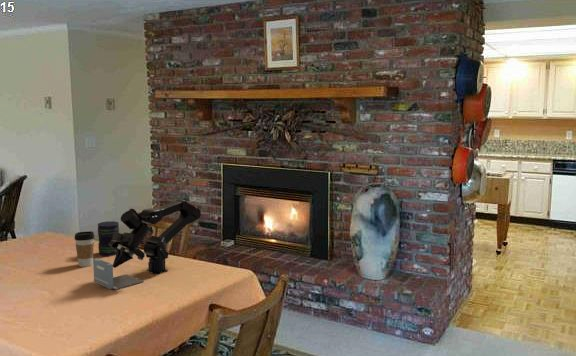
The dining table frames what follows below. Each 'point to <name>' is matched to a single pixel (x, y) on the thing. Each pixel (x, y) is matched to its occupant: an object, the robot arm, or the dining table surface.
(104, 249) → the storage jar
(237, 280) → the dining table surface
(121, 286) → the plate
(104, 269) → the grey rectangular slab
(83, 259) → the coffee cup
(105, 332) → the dining table surface
